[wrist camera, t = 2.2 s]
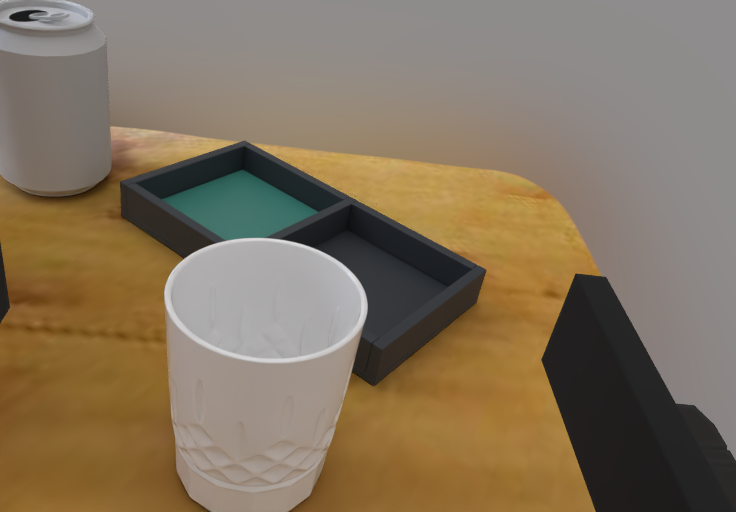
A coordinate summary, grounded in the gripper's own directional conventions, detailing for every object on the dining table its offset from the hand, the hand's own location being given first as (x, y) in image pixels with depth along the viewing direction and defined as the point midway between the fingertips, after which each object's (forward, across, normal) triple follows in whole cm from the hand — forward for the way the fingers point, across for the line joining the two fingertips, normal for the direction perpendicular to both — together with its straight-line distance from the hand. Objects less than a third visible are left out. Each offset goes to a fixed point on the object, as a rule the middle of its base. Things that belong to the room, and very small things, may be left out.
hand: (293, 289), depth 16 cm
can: (+33, -17, -17) cm, 41 cm away
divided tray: (+26, +1, -17) cm, 31 cm away
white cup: (+9, -1, -17) cm, 19 cm away
